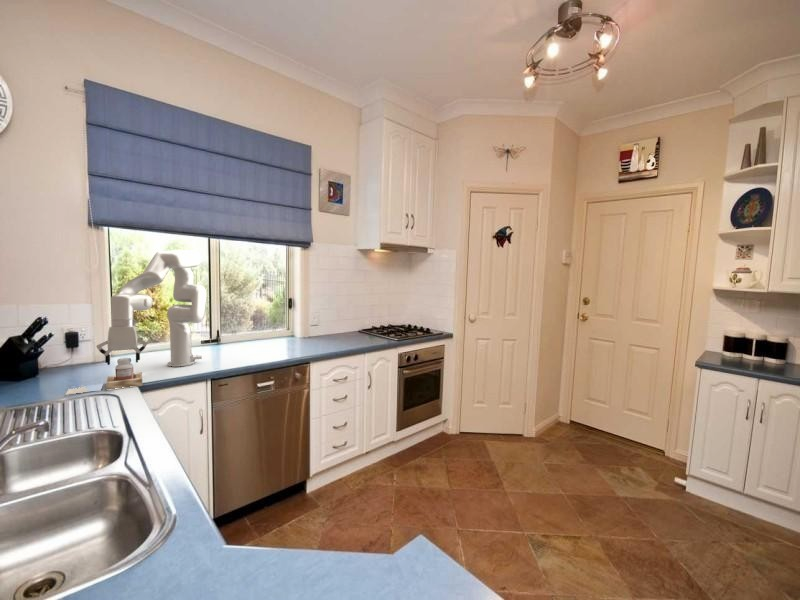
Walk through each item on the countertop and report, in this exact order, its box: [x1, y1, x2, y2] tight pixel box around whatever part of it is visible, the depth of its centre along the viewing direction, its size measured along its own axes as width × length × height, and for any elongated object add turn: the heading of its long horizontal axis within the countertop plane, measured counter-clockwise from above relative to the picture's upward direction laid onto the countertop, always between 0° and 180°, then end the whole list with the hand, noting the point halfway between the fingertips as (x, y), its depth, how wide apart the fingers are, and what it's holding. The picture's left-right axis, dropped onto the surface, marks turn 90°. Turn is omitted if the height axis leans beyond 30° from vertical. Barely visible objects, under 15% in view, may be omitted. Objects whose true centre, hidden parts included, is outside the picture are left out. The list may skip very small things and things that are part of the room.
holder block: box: [105, 372, 143, 390], centre depth 156 cm, size 12×12×3 cm
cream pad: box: [64, 386, 89, 396], centre depth 149 cm, size 11×11×1 cm
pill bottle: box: [115, 357, 135, 381], centre depth 156 cm, size 6×6×11 cm
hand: (123, 363), depth 155 cm, fingers open, 9 cm apart
